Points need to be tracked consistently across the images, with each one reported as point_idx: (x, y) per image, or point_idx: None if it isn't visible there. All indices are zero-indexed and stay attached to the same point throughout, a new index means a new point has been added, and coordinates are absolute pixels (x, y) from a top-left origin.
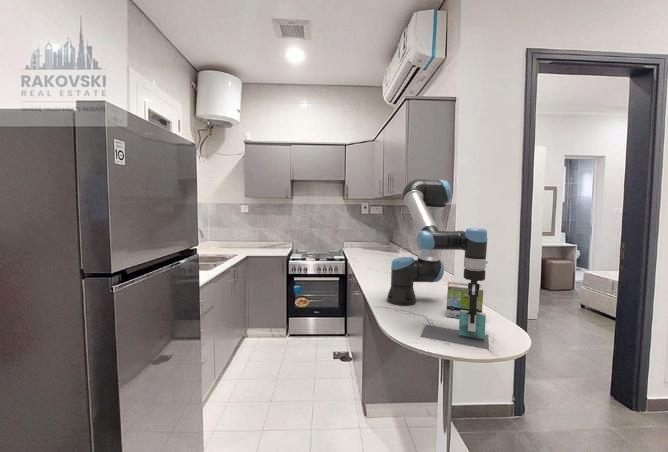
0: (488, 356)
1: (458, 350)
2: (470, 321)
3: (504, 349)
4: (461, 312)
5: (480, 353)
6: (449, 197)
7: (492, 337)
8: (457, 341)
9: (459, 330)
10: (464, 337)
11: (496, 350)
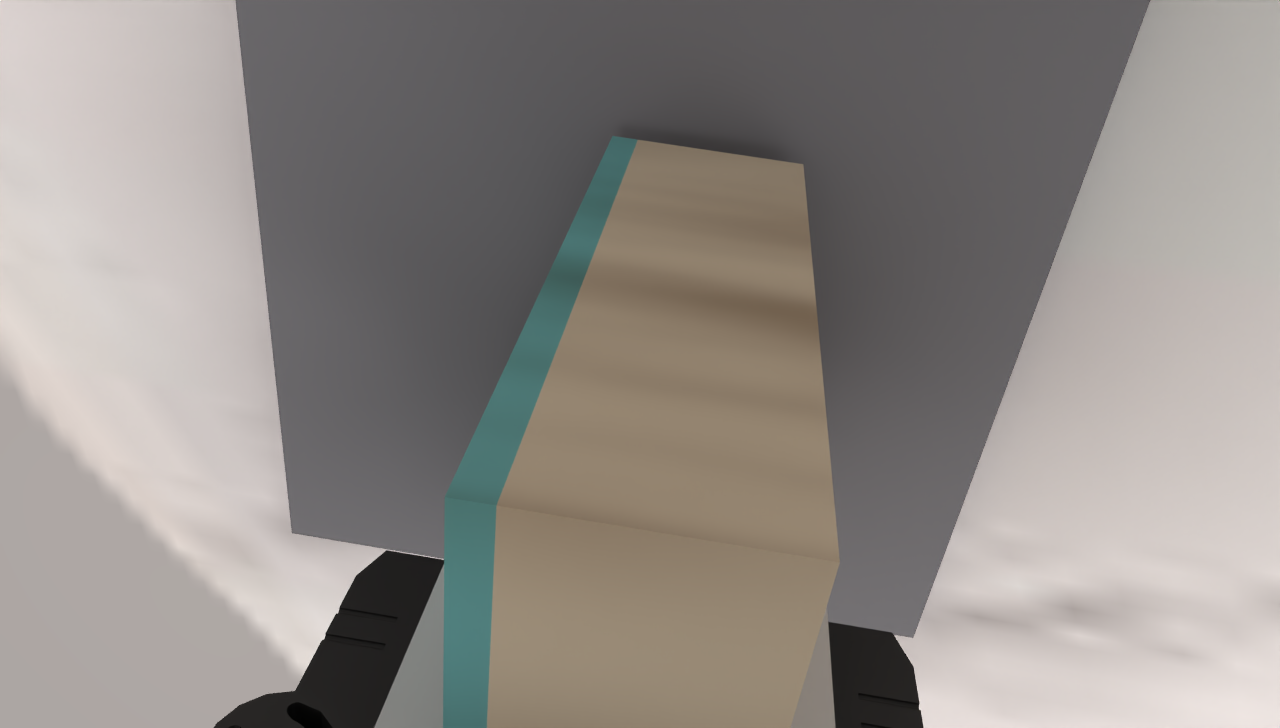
0: (117, 472)
1: (32, 52)
2: (351, 596)
3: None
4: (445, 546)
5: (150, 391)
6: None
7: None
8: (362, 70)
9: (597, 186)
10: None
11: None
